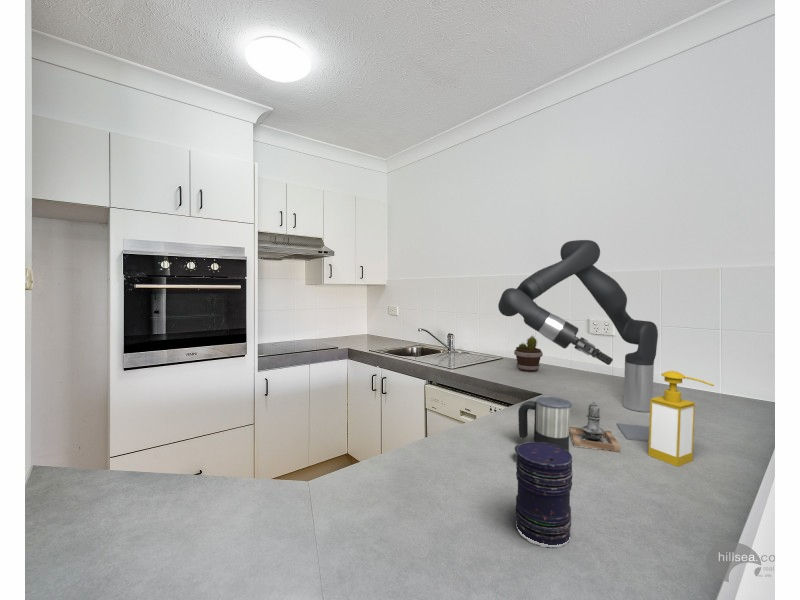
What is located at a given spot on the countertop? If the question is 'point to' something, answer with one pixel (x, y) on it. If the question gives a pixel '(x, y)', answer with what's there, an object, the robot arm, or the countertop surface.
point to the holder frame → (611, 439)
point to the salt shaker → (593, 425)
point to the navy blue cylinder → (544, 492)
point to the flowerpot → (528, 356)
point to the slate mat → (634, 431)
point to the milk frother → (547, 421)
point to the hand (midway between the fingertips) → (608, 360)
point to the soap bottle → (672, 423)
